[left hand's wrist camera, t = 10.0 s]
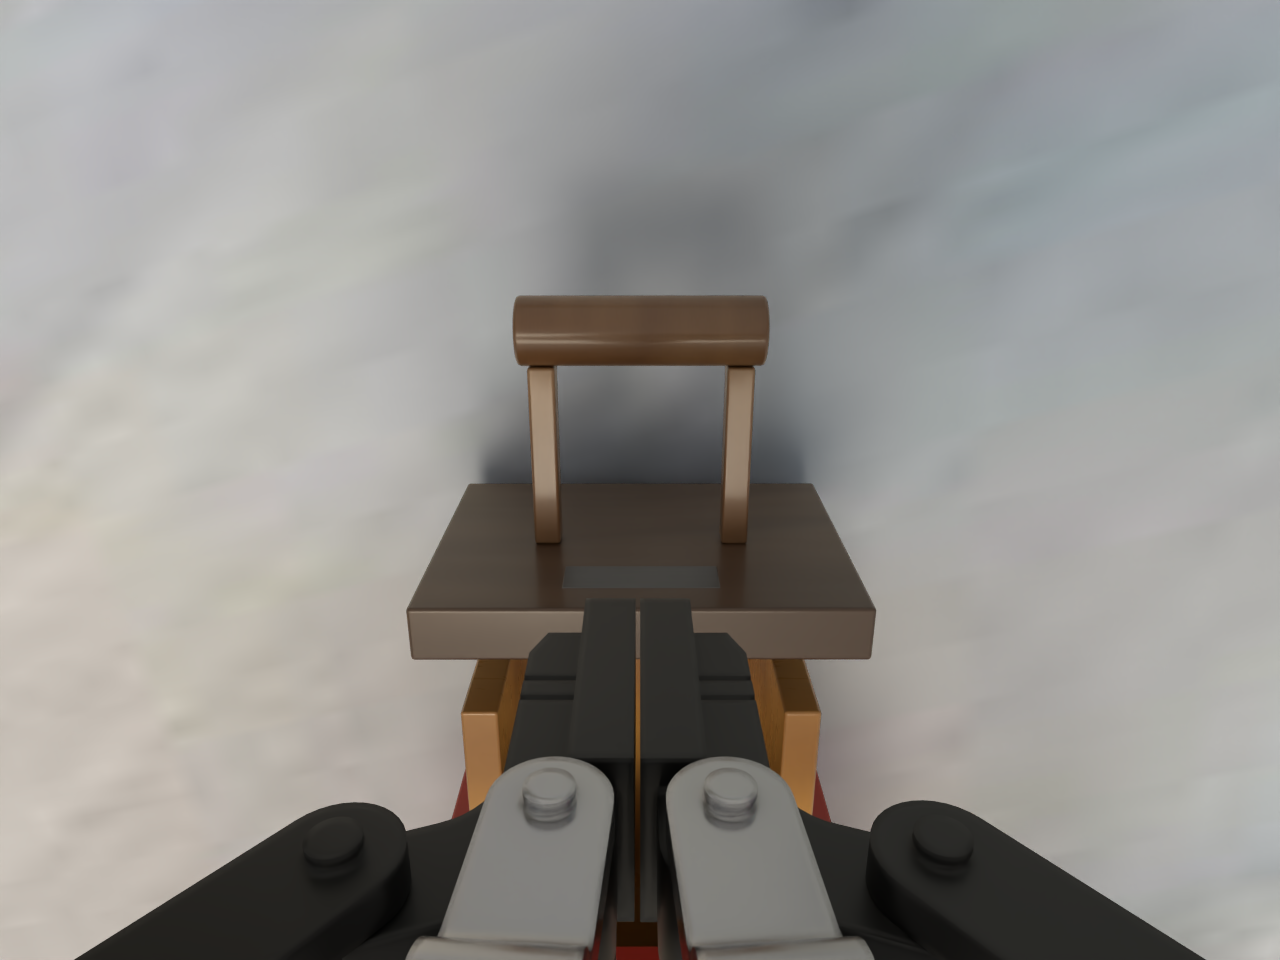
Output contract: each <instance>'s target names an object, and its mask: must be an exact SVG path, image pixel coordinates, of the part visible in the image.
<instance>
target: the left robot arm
mask: <svg viewBox="0 0 1280 960" xmlns="http://www.w3.org/2000/svg"><path fill="white" fill-rule="evenodd" d="M635 770H636V598H586V600H585V608H584V616H583V625H582V633H547V635H546V636H545V637H544V638H543V639H542V640H541V641H540V642H539V643H538V644H537V645H536V646H535V647H534V648H533V649H532V650H531V651H530V652H529V657H528V661H527V666H526V670H525V675H524V680H523V684H522V689H521V694H520V700H519V703H518V707H517V712H516V717H515V721H514V726H513V731H512V735H511V740H510V745H509V749H508V754H507V758H506V763H505V768H504V772H503V774H502V775H500V776H499V777H498V778H497V779H496V780H495V781H494V783H493V784H492V785H491V787H490V789H489V791H488V793H487V795H486V798H485V801H483V802H482V803H481V804H479V805H478V806H477V807H475V808H474V809H472V810H470V811H468V812H467V813H465V814H463V815H461V816H458V817H456V818H453V819H451V820H448V821H444V822H441V823H437V824H433V825H429V826H425V827H421V828H417V829H413V830H409V831H406V830H405V827H404V825H403V823H402V822H401V820H400V819H399V817H397V816H396V815H395V814H394V813H393V812H391V811H390V810H388V809H386V808H384V807H381V806H378V805H375V804H369V803H357V802H353V803H342V804H336V805H331V806H328V807H324V808H321V809H318V810H316V811H313V812H311V813H309V814H307V815H305V816H303V817H301V818H299V819H298V820H296V821H294V822H293V823H291V824H289V825H288V826H286V827H285V828H283V829H281V830H280V831H278V832H277V833H275V834H274V835H272V836H270V837H269V838H267V839H266V840H264V841H262V842H261V843H259V844H258V845H256V846H254V847H253V848H251V849H250V850H248V851H246V852H245V853H243V854H242V855H240V856H239V857H237V858H235V859H234V860H232V861H231V862H229V863H227V864H226V865H224V866H223V867H221V868H219V869H218V870H216V871H215V872H213V873H211V874H210V875H208V876H207V877H205V878H204V879H202V880H200V881H199V882H197V883H196V884H194V885H192V886H191V887H189V888H188V889H186V890H184V891H183V892H181V893H180V894H178V895H176V896H175V897H173V898H172V899H170V900H169V901H167V902H165V903H164V904H162V905H161V906H159V907H157V908H156V909H154V910H153V911H151V912H149V913H148V914H146V915H145V916H143V917H141V918H140V919H138V920H137V921H135V922H134V923H132V924H130V925H129V926H127V927H126V928H124V929H122V930H121V931H119V932H118V933H116V934H114V935H113V936H111V937H110V938H108V939H106V940H105V941H103V942H102V943H100V944H99V945H97V946H95V947H94V948H92V949H91V950H89V951H87V952H86V953H84V954H83V955H81V956H79V957H78V958H76V959H75V960H616V935H617V922H634V908H635ZM640 922H657V927H658V954H659V960H1205V959H1204V958H1202V957H1201V956H1199V955H1197V954H1196V953H1194V952H1193V951H1191V950H1189V949H1188V948H1186V947H1185V946H1183V945H1181V944H1180V943H1178V942H1177V941H1175V940H1174V939H1172V938H1170V937H1169V936H1167V935H1166V934H1164V933H1162V932H1161V931H1159V930H1158V929H1156V928H1154V927H1153V926H1151V925H1150V924H1148V923H1146V922H1145V921H1143V920H1142V919H1140V918H1139V917H1137V916H1135V915H1134V914H1132V913H1131V912H1129V911H1127V910H1126V909H1124V908H1123V907H1121V906H1119V905H1118V904H1116V903H1115V902H1113V901H1111V900H1110V899H1108V898H1107V897H1105V896H1104V895H1102V894H1100V893H1099V892H1097V891H1096V890H1094V889H1092V888H1091V887H1089V886H1088V885H1086V884H1084V883H1083V882H1081V881H1080V880H1078V879H1076V878H1075V877H1073V876H1072V875H1070V874H1069V873H1067V872H1065V871H1064V870H1062V869H1061V868H1059V867H1057V866H1056V865H1054V864H1053V863H1051V862H1049V861H1048V860H1046V859H1045V858H1043V857H1041V856H1040V855H1038V854H1037V853H1035V852H1034V851H1032V850H1030V849H1029V848H1027V847H1026V846H1024V845H1022V844H1021V843H1019V842H1018V841H1016V840H1014V839H1013V838H1011V837H1010V836H1008V835H1006V834H1005V833H1003V832H1002V831H1000V830H999V829H997V828H995V827H994V826H992V825H991V824H989V823H987V822H986V821H984V820H983V819H981V818H979V817H977V816H976V815H974V814H972V813H970V812H968V811H966V810H963V809H961V808H959V807H956V806H952V805H949V804H945V803H940V802H935V801H924V800H921V801H908V802H902V803H899V804H896V805H893V806H891V807H889V808H887V809H886V810H884V811H883V812H882V813H881V814H880V815H878V817H877V818H876V820H875V821H874V822H873V825H872V828H871V832H868V831H864V830H860V829H855V828H851V827H847V826H843V825H839V824H835V823H832V822H828V821H825V820H822V819H820V818H817V817H815V816H813V815H810V814H809V813H807V812H805V811H803V810H801V809H800V808H798V807H797V804H796V801H795V798H794V795H793V793H792V791H791V789H790V787H789V785H788V784H787V783H786V781H785V780H784V779H783V778H782V777H781V776H780V775H778V774H777V773H776V772H774V771H773V770H771V769H770V766H769V761H768V756H767V751H766V746H765V742H764V737H763V732H762V727H761V722H760V718H759V713H758V708H757V703H756V700H755V693H754V689H753V684H752V681H751V674H750V669H749V664H748V660H747V655H746V652H745V651H744V650H743V649H742V648H741V647H740V646H739V645H738V644H737V643H736V642H735V640H734V639H733V638H732V637H731V636H730V635H729V634H728V633H694V630H693V621H692V612H691V603H690V598H640Z"/></svg>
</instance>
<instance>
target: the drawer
mask: <svg viewBox="0 0 1280 960" xmlns="http://www.w3.org/2000/svg"><path fill="white" fill-rule="evenodd" d="M769 327H770V324H769V307H768V302H767V299H766V297H765V296H518V297H516V300H515V303H514V308H513V344H514V353H515V358H516V361H517V363H518V365H521V366H529V367H528V369H527V382H528V403H529V424H530V445H531V466H532V484H469V485H468V487H467V489H466V491H465V493H464V495H463V497H462V499H461V501H460V503H459V505H458V507H457V509H456V511H455V513H454V515H453V517H452V519H451V521H450V523H449V525H448V527H447V529H446V531H445V533H444V535H443V537H442V539H441V541H440V543H439V545H438V547H437V549H436V551H435V553H434V555H433V557H432V559H431V561H430V563H429V565H428V567H427V569H426V571H425V573H424V575H423V577H422V579H421V581H420V584H419V586H418V588H417V590H416V592H415V594H414V596H413V598H412V600H411V602H410V604H409V606H408V608H407V610H406V613H407V622H408V631H409V640H410V650H411V657H412V659H415V660H423V659H478V660H477V663H476V666H475V670H474V673H473V676H472V679H471V682H470V686H469V689H468V692H467V695H466V699H465V702H464V705H463V708H462V711H461V720H462V732H463V743H464V755H465V766H466V777H467V789H468V800H469V811H470V810H472V809H474V808H475V807H477V806H478V805H479V804H481V803H482V802H483V801H485V798H486V795H487V793H488V791H489V789H490V787H491V785H492V784H493V783H494V781H495V780H496V779H497V778H498V777H499V776H500V775H502V774H503V772H504V768H505V763H506V758H507V754H508V749H509V745H510V740H511V735H512V731H513V726H514V721H515V717H516V712H517V707H518V703H519V700H520V694H521V689H522V684H523V680H524V675H525V670H526V666H527V661H528V657H529V652H530V651H531V650H532V649H533V648H534V647H535V646H536V645H537V644H538V643H539V642H540V641H541V640H542V639H543V638H544V637H545V636H546V635H547V633H582V625H583V616H584V608H585V600H586V598H636V770H635V908H634V922H617V935H616V946H658V927H657V922H640V598H690V603H691V612H692V621H693V630H694V633H728V634H729V635H730V636H731V637H732V638H733V639H734V640H735V642H736V643H737V644H738V645H739V646H740V647H741V648H742V649H743V650H744V651H745V652H746V655H747V660H748V664H749V669H750V674H751V681H752V684H753V689H754V693H755V700H756V703H757V708H758V713H759V718H760V722H761V727H762V732H763V737H764V742H765V746H766V751H767V756H768V761H769V766H770V769H771V770H773V771H774V772H776V773H777V774H778V775H780V776H781V777H782V778H783V779H784V780H785V781H786V783H787V784H788V785H789V787H790V789H791V791H792V793H793V795H794V798H795V801H796V804H797V807H798V808H800V809H801V810H803V811H805V812H807V813H809V814H810V815H812V813H813V801H814V790H815V779H816V767H817V756H818V744H819V733H820V722H821V711H820V708H819V705H818V701H817V698H816V695H815V692H814V689H813V686H812V683H811V679H810V676H809V673H808V670H807V667H806V664H805V661H804V659H870V658H871V653H872V644H873V635H874V626H875V617H876V609H875V606H874V605H873V603H872V601H871V599H870V597H869V595H868V593H867V591H866V589H865V587H864V585H863V583H862V581H861V579H860V577H859V575H858V573H857V571H856V569H855V567H854V565H853V563H852V561H851V559H850V557H849V555H848V553H847V551H846V549H845V547H844V545H843V543H842V541H841V539H840V537H839V535H838V533H837V531H836V529H835V527H834V525H833V523H832V521H831V519H830V517H829V516H828V514H827V512H826V510H825V508H824V506H823V504H822V502H821V500H820V498H819V496H818V494H817V492H816V490H815V488H814V486H813V484H750V469H751V448H752V427H753V406H754V385H755V368H754V366H761V365H764V363H765V361H766V358H767V354H768V346H769ZM557 366H725V386H724V414H723V443H722V471H721V484H561V473H560V445H559V416H558V387H557Z"/></svg>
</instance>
